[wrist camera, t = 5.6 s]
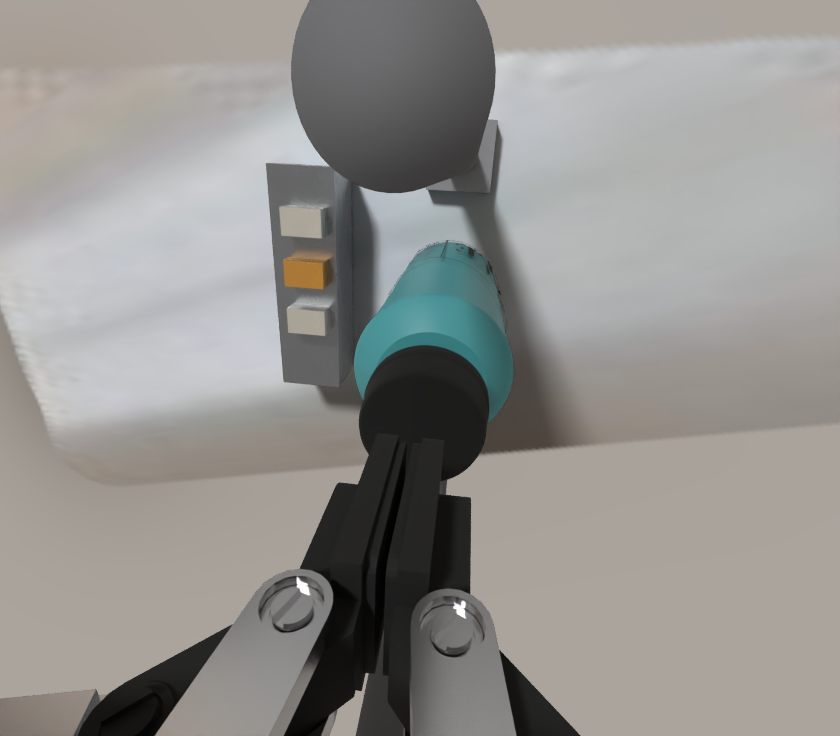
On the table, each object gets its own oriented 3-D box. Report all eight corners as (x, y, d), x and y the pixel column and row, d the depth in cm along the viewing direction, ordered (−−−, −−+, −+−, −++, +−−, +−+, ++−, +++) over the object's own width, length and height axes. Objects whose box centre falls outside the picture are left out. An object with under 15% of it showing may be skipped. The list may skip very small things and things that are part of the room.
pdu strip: (351, 167, 29) (327, 167, 24) (353, 364, 35) (334, 395, 30) (291, 163, 29) (256, 162, 24) (303, 359, 35) (276, 389, 30)
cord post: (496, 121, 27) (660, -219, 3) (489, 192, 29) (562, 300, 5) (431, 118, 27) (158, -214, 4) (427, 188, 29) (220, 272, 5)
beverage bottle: (392, 308, 32) (288, 485, 14) (422, 219, 30) (342, 296, 12) (475, 340, 33) (478, 552, 15) (513, 254, 30) (574, 383, 12)
